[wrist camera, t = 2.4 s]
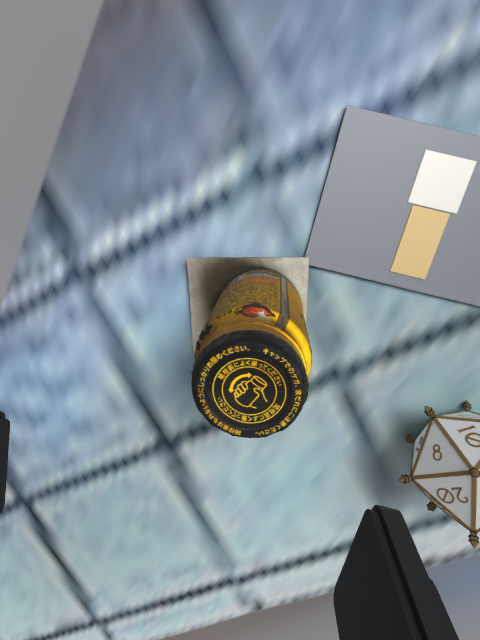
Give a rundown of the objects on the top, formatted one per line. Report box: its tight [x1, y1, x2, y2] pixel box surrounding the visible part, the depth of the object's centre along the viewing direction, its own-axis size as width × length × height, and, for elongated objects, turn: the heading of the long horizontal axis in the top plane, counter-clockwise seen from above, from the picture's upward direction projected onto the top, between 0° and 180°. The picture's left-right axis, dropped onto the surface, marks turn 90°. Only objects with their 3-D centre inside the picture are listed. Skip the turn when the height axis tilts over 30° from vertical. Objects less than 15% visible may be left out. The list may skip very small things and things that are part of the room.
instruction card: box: [305, 105, 480, 306], centre depth 25 cm, size 10×14×1 cm
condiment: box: [187, 257, 312, 438], centre depth 23 cm, size 7×8×12 cm
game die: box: [398, 401, 480, 549], centre depth 26 cm, size 9×8×10 cm
